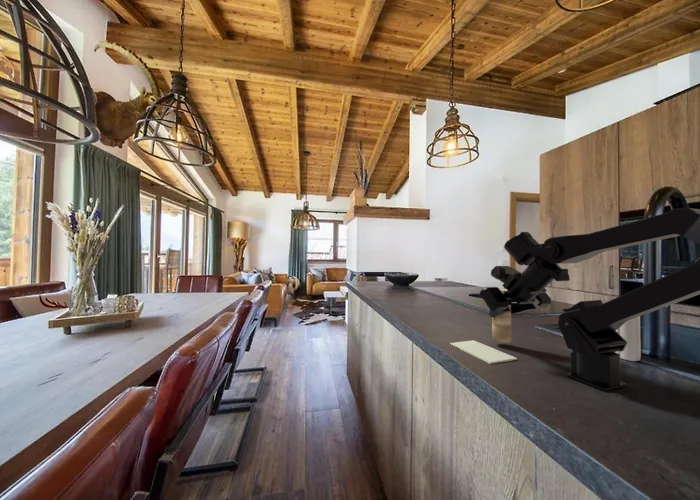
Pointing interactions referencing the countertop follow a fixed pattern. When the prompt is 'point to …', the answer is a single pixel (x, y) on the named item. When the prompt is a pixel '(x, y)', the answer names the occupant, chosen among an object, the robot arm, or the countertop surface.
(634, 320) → the white rounded-top upright
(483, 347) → the sage mat
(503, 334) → the pepper mill
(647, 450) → the countertop surface
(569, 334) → the robot arm
